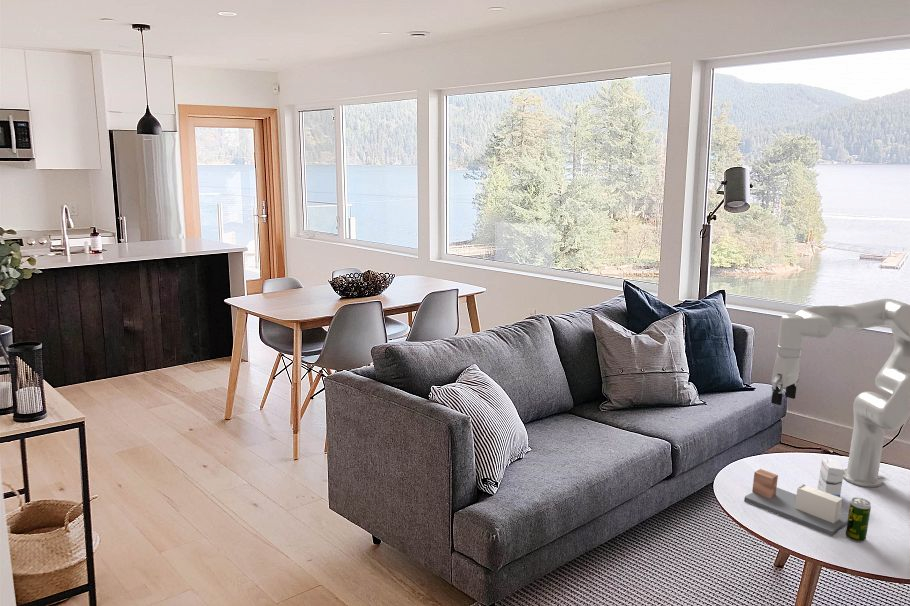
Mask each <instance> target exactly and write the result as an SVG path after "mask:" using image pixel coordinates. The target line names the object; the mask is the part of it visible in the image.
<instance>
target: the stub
mask: <svg viewBox="0 0 910 606" xmlns="http://www.w3.org/2000/svg"><path fill="white" fill-rule="evenodd" d="M778 479H779V475H778V474H776V473H773V472H770V471H768V470H765V469H762V468H760V469H758V470H756V471H754V475H753V482H752V492H754V493H757V494H760V495H762V496H765V497H767V498H771V497H773V496H774V495H776V488H778V487H777V486H778ZM752 492H751V493H752Z"/></svg>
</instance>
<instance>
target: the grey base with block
mask: <svg viewBox="0 0 910 606" xmlns="http://www.w3.org/2000/svg"><path fill="white" fill-rule="evenodd" d="M743 501H744V503H745V502H746V503H748V504H750V505H752V504H753V506H756V507H758V508H760V507H761V509H762V508H763V509H762V510H764V511H767V510H768V512H770V513H772V512H773V514H775V515H777V514H778V516H780V517H782V518H785V519H787V520H790V521H792V522H795V523H798V524H800V525H803V526H806V527H808V528H810V529H813V530H814V531H817V532H820V533H822V534H825V535H828V536H830V537H833V536H835V535H836V534H837V533H839V532H840V531H842V530H843V529H844V528H845V527H847V521H848V514H849V513H848V512H847V513H846V512H844V511H842V504H843V497H841V496H840V497H837V496H834V495H832V494H829V493H826V492H823V491H821V490H818V488H815V487H812V486H809V485H806V484H802V485H800V486H798V487H797V490H796V493H793V492H790V491H788V490H785V489H782V488H779V487H777V488H776V495H774V496H773V497H771V498H767V497H765V496H762V495H760V494H757V493H754V492H750V493H749V494H747V495H746V496H744V500H743Z"/></svg>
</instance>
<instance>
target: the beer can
mask: <svg viewBox="0 0 910 606" xmlns="http://www.w3.org/2000/svg"><path fill="white" fill-rule="evenodd" d="M871 508H872V507H871V502H870V500H867V499H866V498H863V497H862V498H861V497H852V498H851V500H850V503H849V508H848V509H849V510H848V513H847V514H848V521H847V525H846V528H845V537H846V538H847V540H849V541H851V542H854V543H861V544H862V543H864V542H865V541H866V540H867V536H868V535H867V533H868V528H869V521H870V516H871Z"/></svg>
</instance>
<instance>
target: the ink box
mask: <svg viewBox="0 0 910 606" xmlns="http://www.w3.org/2000/svg"><path fill="white" fill-rule="evenodd" d="M844 470H845V469H844V468H843V467H842V465H841V463H840V462H839V460H838V459H833V458H827V457H822V458H821V464H820V469H819V476H818V477H819V478H818V484H817V489H818V490H821V491H823V492H826V493H829V494H832V495H834V496H837V497H840V498H841V494H842V485H843V480H844V478H843V473H844Z"/></svg>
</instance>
